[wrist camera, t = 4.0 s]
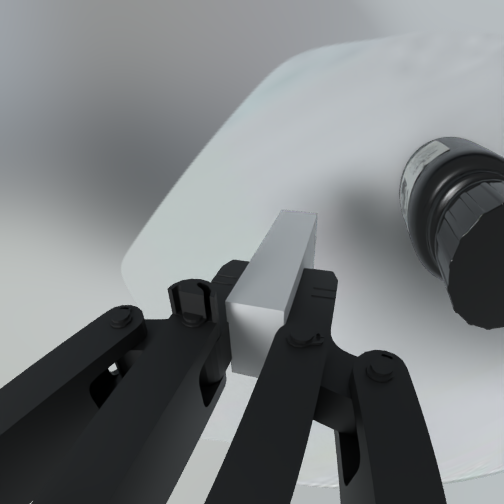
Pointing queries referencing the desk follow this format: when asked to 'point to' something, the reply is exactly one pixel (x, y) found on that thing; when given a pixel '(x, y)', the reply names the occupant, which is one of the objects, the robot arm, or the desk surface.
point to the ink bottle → (459, 223)
